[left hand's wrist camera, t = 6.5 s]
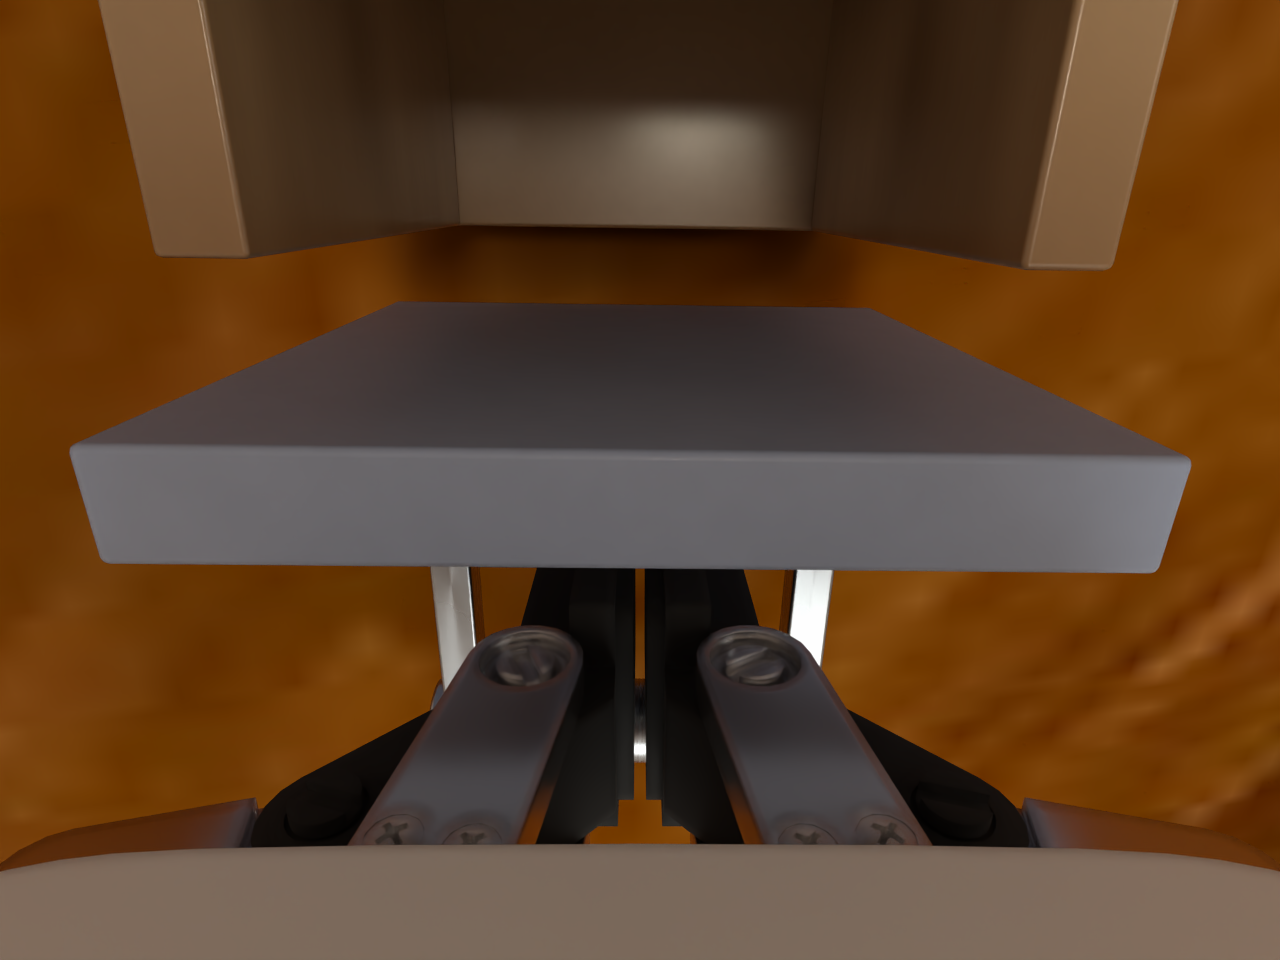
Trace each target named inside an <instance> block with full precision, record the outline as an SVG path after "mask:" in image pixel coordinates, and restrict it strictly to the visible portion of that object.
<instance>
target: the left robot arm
mask: <svg viewBox="0 0 1280 960" xmlns="http://www.w3.org/2000/svg"><path fill="white" fill-rule="evenodd" d="M645 724H646V800H661V802H662V826H683V827H684V828H685V829H686V830H688V831H689V832H690V844H590V832H591V831H592V830H594V829H595V828H596V827H597V826H618V803H619V800H634V727H635V568H547V567H537V570H536V574H535V577H534V581H533V584H532V588H531V592H530V595H529V599H528V602H527V606H526V609H525V613H524V617H523V620H522V624H521V626H519V627H513V628H507V629H505V630H502V631H499V632H496V633H494V634H491V635H490V636H488V637H486V638H485V639H483V640H482V641H480V642H478V643H477V645H476V646H475V647H474V648H473V649H472V650H471V651H470V652H469V654H468V655H467V657H466V658H465V660H464V662H463V663H462V665H461V666H460V668H459V669H458V671H457V673H456V674H455V676H454V677H453V679H452V681H451V682H450V684H449V685H448V687H447V688H446V690H445V692H444V693H443V695H442V696H441V698H440V700H439V701H438V703H437V704H436V706H435V707H434V709H432V710H430V711H428V712H426V713H424V714H422V715H421V716H419V717H417V718H415V719H413V720H411V721H409V722H407V723H405V724H403V725H401V726H400V727H398V728H396V729H394V730H392V731H390V732H388V733H386V734H384V735H382V736H380V737H378V738H377V739H375V740H373V741H371V742H369V743H367V744H365V745H363V746H361V747H359V748H357V749H356V750H354V751H352V752H350V753H348V754H346V755H344V756H342V757H340V758H338V759H336V760H334V761H333V762H331V763H329V764H327V765H325V766H323V767H321V768H319V769H317V770H315V771H313V772H311V773H310V774H308V775H306V776H304V777H302V778H300V779H299V780H297V781H296V782H294V783H292V784H291V785H289V786H288V787H286V788H285V789H283V790H282V791H280V792H279V793H278V794H277V795H276V796H275V797H274V798H273V799H272V800H271V801H270V802H269V803H268V804H267V805H266V806H265V807H264V808H262V809H258V806H257V802H256V798H250V799H244V800H238V801H232V802H226V803H221V804H215V805H209V806H203V807H197V808H191V809H186V810H180V811H174V812H168V813H162V814H157V815H151V816H145V817H139V818H133V819H128V820H122V821H116V822H110V823H104V824H98V825H93V826H87V827H81V828H75V829H71V830H68V831H65V832H61V833H58V834H54V835H51V836H47V837H45V838H43V839H41V840H39V841H37V842H35V843H33V844H31V845H29V846H27V847H25V848H23V849H21V850H19V851H17V852H16V853H15V854H13V855H12V856H10V857H9V858H8V859H6V860H5V861H3V862H2V863H1V864H0V960H1280V864H1279V863H1278V862H1277V861H1275V860H1274V859H1272V858H1271V857H1270V856H1268V855H1267V854H1265V853H1264V852H1263V851H1261V850H1259V849H1257V848H1255V847H1253V846H1251V845H1249V844H1247V843H1245V842H1243V841H1241V840H1239V839H1237V838H1235V837H1233V836H1229V835H1226V834H1222V833H1219V832H1216V831H1212V830H1209V829H1205V828H1199V827H1193V826H1187V825H1182V824H1176V823H1170V822H1164V821H1158V820H1152V819H1147V818H1141V817H1135V816H1129V815H1123V814H1118V813H1112V812H1106V811H1100V810H1094V809H1089V808H1083V807H1077V806H1071V805H1065V804H1059V803H1054V802H1048V801H1042V800H1036V799H1030V798H1024V802H1023V806H1022V809H1018V808H1016V807H1015V806H1014V805H1013V804H1012V803H1011V802H1010V801H1009V800H1008V799H1007V798H1006V797H1005V796H1004V795H1003V794H1002V793H1001V792H1000V791H998V790H997V789H995V788H994V787H992V786H991V785H989V784H988V783H986V782H984V781H983V780H981V779H980V778H978V777H976V776H974V775H972V774H970V773H969V772H967V771H965V770H963V769H961V768H959V767H957V766H955V765H953V764H951V763H949V762H947V761H946V760H944V759H942V758H940V757H938V756H936V755H934V754H932V753H930V752H928V751H926V750H925V749H923V748H921V747H919V746H917V745H915V744H913V743H911V742H909V741H907V740H905V739H903V738H902V737H900V736H898V735H896V734H894V733H892V732H890V731H888V730H886V729H884V728H882V727H881V726H879V725H877V724H875V723H873V722H871V721H869V720H867V719H865V718H863V717H861V716H859V715H858V714H856V713H854V712H852V711H850V710H848V709H846V707H845V706H844V704H843V703H842V701H841V700H840V698H839V696H838V695H837V693H836V692H835V690H834V688H833V687H832V685H831V684H830V682H829V681H828V679H827V677H826V676H825V674H824V673H823V671H822V669H821V668H820V666H819V665H818V663H817V662H816V660H815V658H814V657H813V655H812V654H811V652H810V651H809V650H808V649H807V648H806V647H805V646H804V645H803V643H802V642H800V641H798V640H797V639H795V638H794V637H792V636H790V635H789V634H786V633H784V632H781V631H778V630H775V629H773V628H767V627H761V626H759V624H758V620H757V617H756V613H755V609H754V606H753V602H752V599H751V595H750V592H749V588H748V584H747V581H746V577H745V574H744V570H743V569H655V568H645Z"/></svg>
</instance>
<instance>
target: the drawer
mask: <svg viewBox="0 0 1280 960" xmlns="http://www.w3.org/2000/svg"><path fill="white" fill-rule="evenodd" d="M1178 1H1179V0H98V2H99V6H100V11H101V15H102V20H103V24H104V28H105V33H106V37H107V42H108V46H109V51H110V55H111V60H112V64H113V69H114V73H115V77H116V82H117V86H118V91H119V95H120V100H121V104H122V109H123V113H124V118H125V122H126V127H127V131H128V135H129V140H130V144H131V149H132V153H133V158H134V162H135V167H136V171H137V176H138V180H139V184H140V189H141V193H142V198H143V202H144V207H145V211H146V216H147V220H148V225H149V229H150V233H151V238H152V242H153V247H154V251H155V253H156V255H158V256H160V257H165V258H233V259H248V258H254V257H260V256H267V255H273V254H280V253H286V252H292V251H299V250H305V249H311V248H318V247H324V246H331V245H337V244H343V243H350V242H356V241H363V240H369V239H375V238H382V237H388V236H394V235H401V234H407V233H414V232H420V231H426V230H433V229H439V228H445V227H452V226H458V225H462V226H527V227H593V228H659V229H724V230H790V231H817V232H822V233H828V234H833V235H839V236H844V237H849V238H855V239H860V240H866V241H871V242H877V243H882V244H888V245H893V246H898V247H904V248H909V249H915V250H920V251H926V252H931V253H937V254H942V255H947V256H953V257H958V258H964V259H969V260H975V261H980V262H986V263H991V264H996V265H1002V266H1007V267H1013V268H1018V269H1024V270H1069V271H1103V270H1106V269H1109V268H1111V266H1112V265H1113V263H1114V259H1115V255H1116V251H1117V247H1118V243H1119V239H1120V235H1121V231H1122V227H1123V223H1124V218H1125V214H1126V210H1127V206H1128V202H1129V198H1130V194H1131V190H1132V186H1133V182H1134V178H1135V174H1136V170H1137V166H1138V162H1139V158H1140V154H1141V150H1142V146H1143V142H1144V138H1145V134H1146V130H1147V126H1148V122H1149V118H1150V114H1151V110H1152V106H1153V102H1154V97H1155V93H1156V89H1157V85H1158V81H1159V77H1160V73H1161V69H1162V65H1163V61H1164V57H1165V53H1166V49H1167V45H1168V41H1169V37H1170V33H1171V29H1172V25H1173V21H1174V17H1175V13H1176V9H1177V5H1178ZM70 457H71V460H72V463H73V467H74V470H75V474H76V477H77V480H78V484H79V487H80V491H81V494H82V497H83V501H84V504H85V507H86V511H87V514H88V518H89V521H90V524H91V528H92V531H93V535H94V538H95V541H96V545H97V548H98V551H99V555H100V558H101V559H102V560H103V561H104V562H106V563H116V564H224V565H331V566H430V571H431V580H432V590H433V599H434V609H435V618H436V628H437V637H438V647H439V656H440V666H441V675H442V678H441V679H440V680H439V682H438V683H437V685H436V688H435V691H434V694H433V697H432V701H431V707H430V710H432V709H434V707H435V706H436V704H437V703H438V701H439V700H440V698H441V696H442V695H443V693H444V692H445V690H446V688H447V687H448V685H449V684H450V682H451V681H452V679H453V677H454V676H455V674H456V673H457V671H458V669H459V668H460V666H461V665H462V663H463V662H464V660H465V658H466V657H467V655H468V654H469V652H470V651H471V650H472V649H473V648H474V647H475V646H476V645H477V643H478V642H480V641H482V640H483V639H485V632H484V619H483V606H482V593H481V580H480V567H547V568H655V569H763V570H785V577H784V587H783V597H782V607H781V616H780V626H779V631H781V632H784V633H786V634H789V635H790V636H792V637H794V638H795V639H797V640H798V641H800V642H802V643H803V645H804V646H805V647H806V648H807V649H808V650H809V651H810V652H811V654H812V655H813V657H814V658H815V660H816V662H817V663H818V665H819V666H820V668H822V660H823V653H824V645H825V637H826V630H827V622H828V614H829V606H830V599H831V591H832V583H833V576H834V570H871V571H979V572H1087V573H1152V572H1155V571H1156V570H1157V569H1158V568H1159V565H1160V562H1161V559H1162V556H1163V553H1164V550H1165V547H1166V543H1167V540H1168V537H1169V534H1170V531H1171V528H1172V525H1173V521H1174V518H1175V515H1176V512H1177V509H1178V506H1179V503H1180V499H1181V496H1182V493H1183V490H1184V487H1185V484H1186V481H1187V477H1188V474H1189V471H1190V468H1191V460H1190V459H1189V458H1188V457H1186V456H1184V455H1182V454H1180V453H1178V452H1176V451H1173V450H1171V449H1169V448H1167V447H1165V446H1163V445H1161V444H1158V443H1156V442H1154V441H1152V440H1150V439H1148V438H1146V437H1144V436H1141V435H1139V434H1137V433H1135V432H1133V431H1131V430H1129V429H1126V428H1124V427H1122V426H1120V425H1118V424H1116V423H1114V422H1111V421H1109V420H1107V419H1105V418H1103V417H1101V416H1099V415H1097V414H1094V413H1092V412H1090V411H1088V410H1086V409H1084V408H1082V407H1079V406H1077V405H1075V404H1073V403H1071V402H1069V401H1067V400H1065V399H1062V398H1060V397H1058V396H1056V395H1054V394H1052V393H1050V392H1047V391H1045V390H1043V389H1041V388H1039V387H1037V386H1035V385H1032V384H1030V383H1028V382H1026V381H1024V380H1022V379H1020V378H1018V377H1015V376H1013V375H1011V374H1009V373H1007V372H1005V371H1003V370H1000V369H998V368H996V367H994V366H992V365H990V364H988V363H986V362H983V361H981V360H979V359H977V358H975V357H973V356H971V355H968V354H966V353H964V352H962V351H960V350H958V349H956V348H953V347H951V346H949V345H947V344H945V343H943V342H941V341H939V340H936V339H934V338H932V337H930V336H928V335H926V334H924V333H921V332H919V331H917V330H915V329H913V328H911V327H909V326H906V325H904V324H902V323H900V322H898V321H896V320H894V319H892V318H889V317H887V316H885V315H883V314H881V313H879V312H877V311H874V310H872V309H870V308H824V307H752V306H680V305H608V304H536V303H464V302H396V303H394V304H392V305H389V306H387V307H385V308H383V309H380V310H378V311H376V312H374V313H371V314H369V315H367V316H364V317H362V318H360V319H358V320H355V321H353V322H351V323H349V324H346V325H344V326H342V327H339V328H337V329H335V330H333V331H330V332H328V333H326V334H324V335H321V336H319V337H317V338H314V339H312V340H310V341H308V342H305V343H303V344H301V345H299V346H296V347H294V348H292V349H289V350H287V351H285V352H283V353H280V354H278V355H276V356H274V357H271V358H269V359H267V360H264V361H262V362H260V363H258V364H255V365H253V366H251V367H248V368H246V369H244V370H242V371H239V372H237V373H235V374H233V375H230V376H228V377H226V378H223V379H221V380H219V381H217V382H214V383H212V384H210V385H208V386H205V387H203V388H201V389H198V390H196V391H194V392H192V393H189V394H187V395H185V396H183V397H180V398H178V399H176V400H173V401H171V402H169V403H167V404H164V405H162V406H160V407H158V408H155V409H153V410H151V411H148V412H146V413H144V414H142V415H139V416H137V417H135V418H133V419H130V420H128V421H126V422H123V423H121V424H119V425H117V426H114V427H112V428H110V429H107V430H105V431H103V432H101V433H98V434H96V435H94V436H92V437H89V438H87V439H85V440H82V441H80V442H78V443H76V444H73V445H72V446H71V448H70ZM634 762H646V724H645V679H635V727H634Z"/></svg>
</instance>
